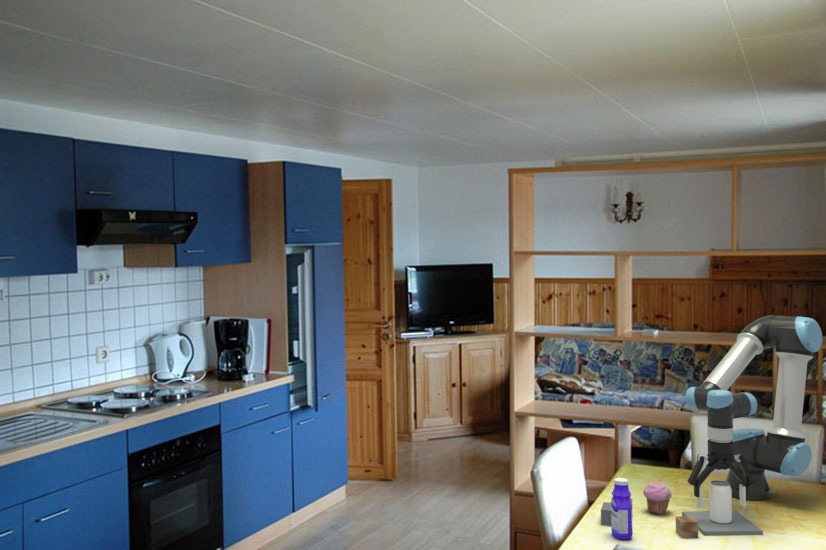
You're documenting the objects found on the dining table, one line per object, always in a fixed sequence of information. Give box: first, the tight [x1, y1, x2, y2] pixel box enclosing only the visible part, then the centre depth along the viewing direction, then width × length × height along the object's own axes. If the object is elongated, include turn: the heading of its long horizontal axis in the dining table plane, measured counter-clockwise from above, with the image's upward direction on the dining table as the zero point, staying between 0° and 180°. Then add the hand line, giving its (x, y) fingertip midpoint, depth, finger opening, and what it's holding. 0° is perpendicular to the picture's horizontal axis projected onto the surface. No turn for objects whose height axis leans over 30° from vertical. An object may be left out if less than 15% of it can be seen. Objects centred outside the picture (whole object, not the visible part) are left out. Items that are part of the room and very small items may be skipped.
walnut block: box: [675, 515, 699, 539], centre depth 220 cm, size 5×5×5 cm
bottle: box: [610, 477, 634, 540], centre depth 220 cm, size 7×6×17 cm
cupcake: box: [642, 481, 673, 515], centre depth 241 cm, size 9×9×10 cm
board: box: [681, 510, 764, 536], centre depth 229 cm, size 18×18×1 cm
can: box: [708, 480, 733, 524], centre depth 228 cm, size 6×6×12 cm
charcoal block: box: [600, 501, 611, 527], centre depth 233 cm, size 4×8×5 cm, turn 159°
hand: (721, 506), depth 229 cm, fingers open, 13 cm apart
